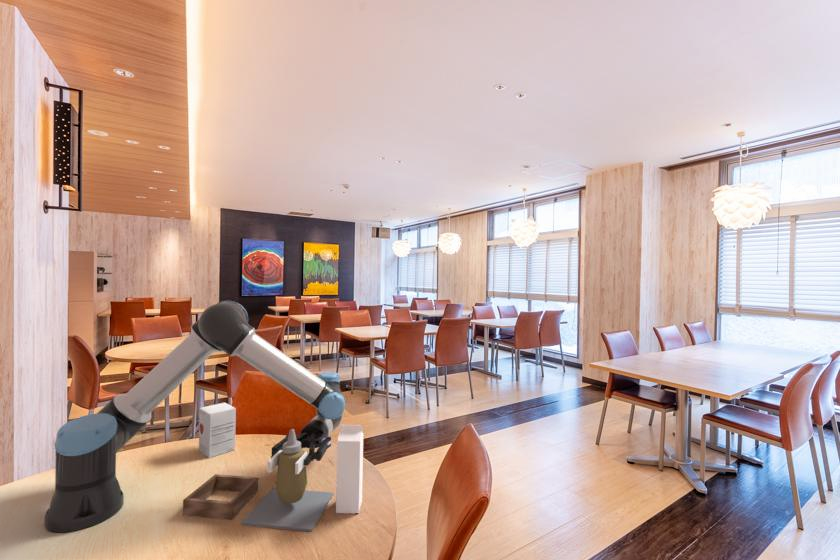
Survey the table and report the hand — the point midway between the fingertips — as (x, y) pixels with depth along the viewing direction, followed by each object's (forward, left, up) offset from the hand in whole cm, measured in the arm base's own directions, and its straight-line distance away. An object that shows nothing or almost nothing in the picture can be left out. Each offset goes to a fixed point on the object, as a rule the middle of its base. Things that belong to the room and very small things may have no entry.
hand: (283, 467), depth 97 cm
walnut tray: (-19, +5, -13) cm, 24 cm away
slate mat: (0, +5, -13) cm, 14 cm away
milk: (+15, +8, -13) cm, 22 cm away
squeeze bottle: (0, +5, -11) cm, 12 cm away
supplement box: (-40, +34, -13) cm, 54 cm away
